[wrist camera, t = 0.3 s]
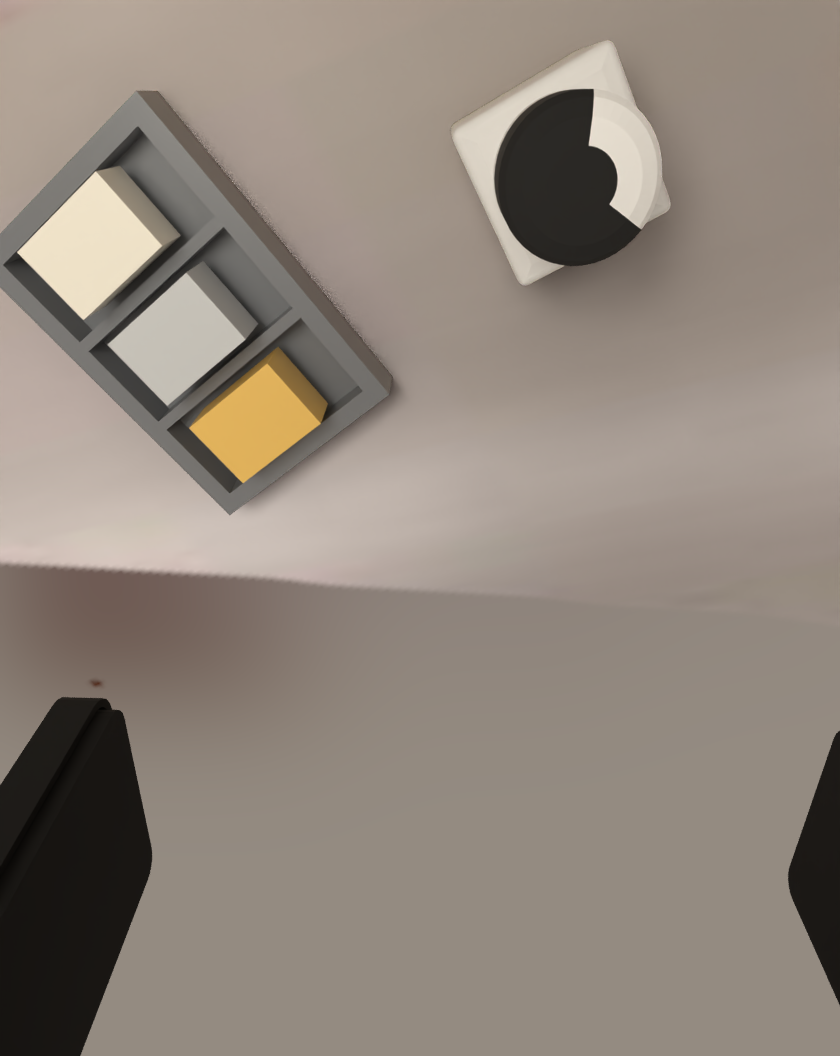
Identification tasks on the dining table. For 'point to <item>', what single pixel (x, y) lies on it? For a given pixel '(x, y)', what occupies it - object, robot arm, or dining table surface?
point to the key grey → (184, 333)
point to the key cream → (99, 241)
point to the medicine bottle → (564, 164)
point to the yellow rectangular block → (260, 415)
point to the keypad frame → (206, 235)
